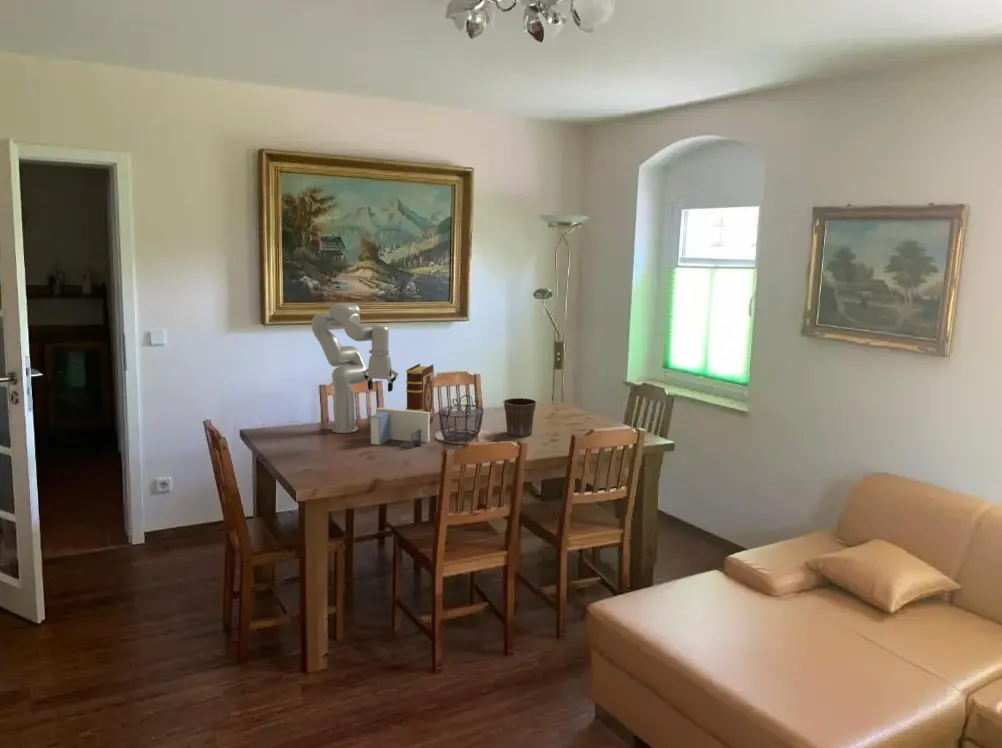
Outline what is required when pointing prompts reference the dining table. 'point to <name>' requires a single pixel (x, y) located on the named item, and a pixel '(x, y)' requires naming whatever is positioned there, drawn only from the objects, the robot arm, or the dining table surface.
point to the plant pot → (519, 416)
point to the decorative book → (420, 389)
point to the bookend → (413, 440)
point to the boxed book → (380, 428)
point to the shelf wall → (408, 424)
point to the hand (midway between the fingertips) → (380, 390)
